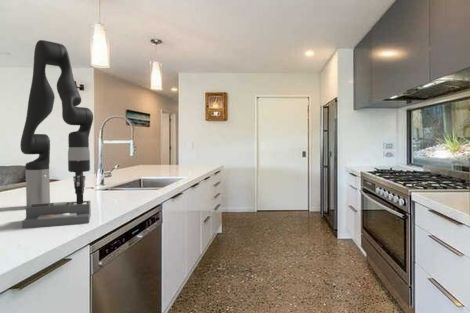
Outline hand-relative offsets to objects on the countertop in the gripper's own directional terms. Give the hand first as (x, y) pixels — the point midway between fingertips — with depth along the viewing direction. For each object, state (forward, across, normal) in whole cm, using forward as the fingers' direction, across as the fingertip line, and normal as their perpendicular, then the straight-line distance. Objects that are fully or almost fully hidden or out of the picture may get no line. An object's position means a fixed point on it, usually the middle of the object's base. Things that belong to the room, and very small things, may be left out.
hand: (80, 203), depth 124 cm
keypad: (+6, +2, -7) cm, 9 cm away
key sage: (+1, 0, -7) cm, 7 cm away
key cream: (+2, 0, 0) cm, 2 cm away
